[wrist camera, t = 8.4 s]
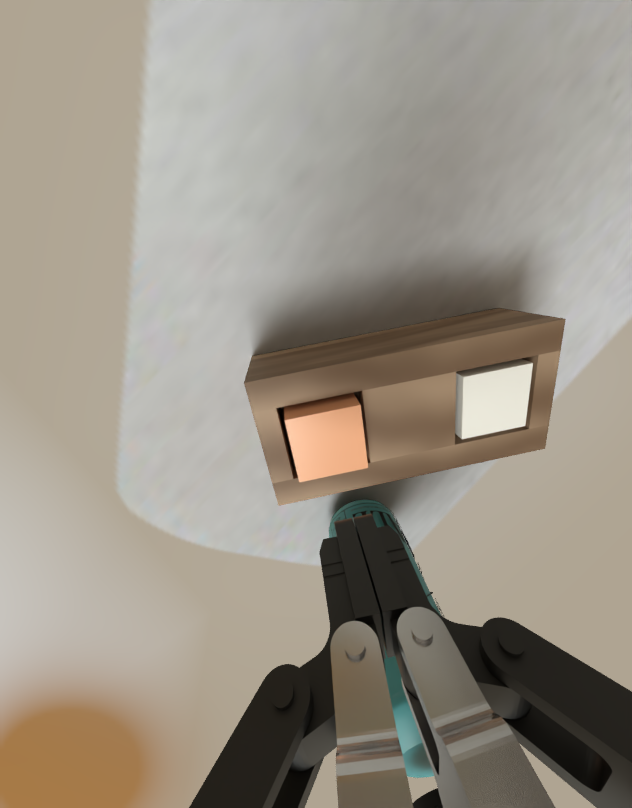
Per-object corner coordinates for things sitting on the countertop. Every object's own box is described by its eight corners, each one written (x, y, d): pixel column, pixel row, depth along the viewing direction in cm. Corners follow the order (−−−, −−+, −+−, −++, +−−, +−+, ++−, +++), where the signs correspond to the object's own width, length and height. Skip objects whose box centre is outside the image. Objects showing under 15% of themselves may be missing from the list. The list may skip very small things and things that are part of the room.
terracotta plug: (282, 389, 22) (284, 420, 17) (343, 377, 22) (360, 404, 18) (295, 441, 24) (299, 482, 19) (350, 430, 24) (368, 467, 19)
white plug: (426, 356, 23) (463, 377, 19) (483, 345, 23) (533, 363, 19) (428, 408, 25) (461, 439, 20) (480, 397, 25) (525, 425, 21)
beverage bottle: (331, 545, 31) (408, 930, 13) (316, 495, 29) (387, 891, 10) (393, 528, 31) (556, 887, 13) (385, 477, 29) (574, 838, 10)
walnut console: (251, 356, 23) (243, 382, 17) (498, 308, 24) (565, 318, 18) (278, 457, 26) (278, 505, 21) (490, 412, 27) (544, 448, 22)
